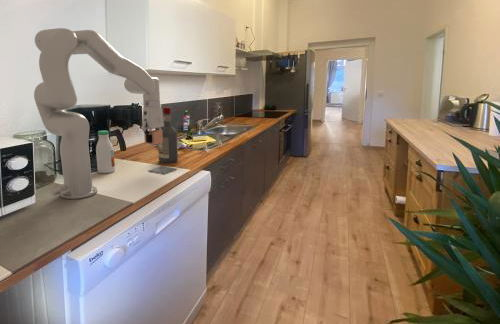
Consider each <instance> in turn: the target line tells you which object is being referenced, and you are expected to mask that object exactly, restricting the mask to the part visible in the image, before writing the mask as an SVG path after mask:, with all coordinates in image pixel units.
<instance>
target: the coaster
mask: <svg viewBox="0 0 500 324" xmlns="http://www.w3.org/2000/svg"><path fill="white" fill-rule="evenodd" d="M175 169H177V168H176V167H175V168H174V167H170V166H163V165H160V166H158V167H154V168H151V169H148V170H147V172H148V171H150V172H149V173H153V172H156V173H155V174H159V173H161V174H160V175H166V174H165V173H167V174H169V173H168V172H170V171H172V172H174V171H173V170H175ZM175 171H176V170H175ZM170 173H171V172H170Z"/></svg>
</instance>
